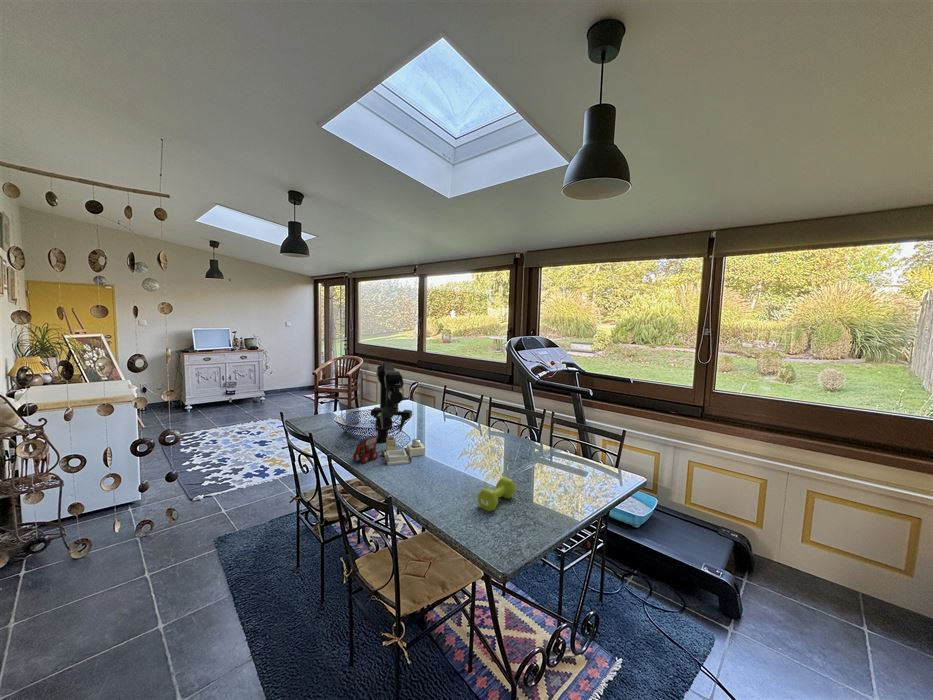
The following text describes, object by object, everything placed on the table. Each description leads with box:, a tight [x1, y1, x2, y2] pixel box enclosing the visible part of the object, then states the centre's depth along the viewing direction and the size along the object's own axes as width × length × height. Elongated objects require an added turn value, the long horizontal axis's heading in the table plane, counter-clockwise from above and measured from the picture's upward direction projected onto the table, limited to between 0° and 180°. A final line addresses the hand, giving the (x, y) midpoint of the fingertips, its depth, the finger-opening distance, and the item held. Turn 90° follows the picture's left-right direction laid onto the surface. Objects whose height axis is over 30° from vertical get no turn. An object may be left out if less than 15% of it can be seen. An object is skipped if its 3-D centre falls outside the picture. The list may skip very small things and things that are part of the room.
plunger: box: [411, 438, 421, 448], centre depth 176 cm, size 4×4×4 cm
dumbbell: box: [477, 476, 517, 513], centre depth 131 cm, size 16×8×7 cm, turn 142°
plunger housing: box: [406, 442, 426, 457], centre depth 176 cm, size 7×7×4 cm
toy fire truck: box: [352, 435, 379, 464], centre depth 164 cm, size 7×12×10 cm, turn 147°
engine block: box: [385, 436, 396, 452], centre depth 178 cm, size 4×4×7 cm
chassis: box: [381, 447, 413, 466], centre depth 168 cm, size 14×12×3 cm
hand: (391, 430), depth 168 cm, fingers open, 9 cm apart
